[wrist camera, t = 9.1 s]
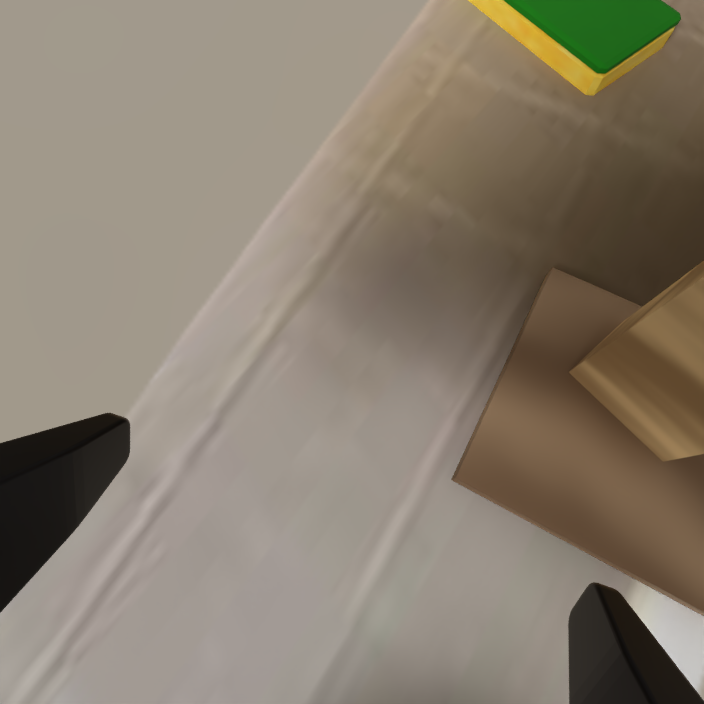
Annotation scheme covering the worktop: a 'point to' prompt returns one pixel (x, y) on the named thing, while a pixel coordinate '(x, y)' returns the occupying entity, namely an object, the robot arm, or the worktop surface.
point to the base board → (585, 451)
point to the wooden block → (656, 370)
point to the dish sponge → (586, 34)
